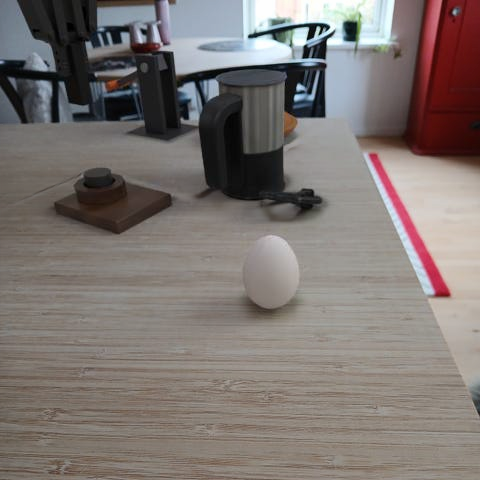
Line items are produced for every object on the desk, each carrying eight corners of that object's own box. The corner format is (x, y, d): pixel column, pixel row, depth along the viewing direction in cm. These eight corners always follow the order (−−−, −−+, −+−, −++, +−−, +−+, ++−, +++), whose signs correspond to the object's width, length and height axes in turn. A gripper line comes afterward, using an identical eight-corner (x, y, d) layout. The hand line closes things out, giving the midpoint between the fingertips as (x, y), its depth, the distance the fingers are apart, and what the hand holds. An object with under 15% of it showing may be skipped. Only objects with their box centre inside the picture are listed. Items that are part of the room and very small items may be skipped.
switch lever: (108, 94, 95) (102, 81, 94) (127, 88, 98) (122, 75, 97) (153, 72, 86) (147, 57, 85) (173, 66, 89) (167, 52, 88)
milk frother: (235, 173, 78) (230, 66, 70) (338, 183, 74) (346, 70, 65) (196, 211, 68) (184, 91, 59) (313, 226, 63) (319, 98, 54)
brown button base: (56, 213, 69) (49, 189, 67) (110, 188, 75) (106, 165, 73) (119, 234, 63) (113, 208, 61) (172, 205, 70) (169, 180, 68)
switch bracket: (128, 138, 95) (114, 55, 86) (160, 125, 100) (150, 47, 92) (168, 147, 90) (158, 59, 82) (200, 133, 96) (193, 50, 87)
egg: (309, 307, 49) (313, 238, 45) (266, 328, 47) (265, 258, 42) (275, 284, 53) (275, 218, 48) (233, 302, 50) (229, 235, 46)
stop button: (80, 186, 68) (77, 174, 67) (100, 178, 70) (98, 165, 69) (99, 192, 66) (96, 179, 65) (119, 182, 69) (116, 170, 68)
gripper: (-12, -173, 42) (57, 121, 57) (105, -159, 51) (140, 94, 65) (-62, -162, 46) (16, 112, 60) (55, -151, 54) (99, 88, 69)
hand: (80, 102), depth 63 cm, fingers closed
